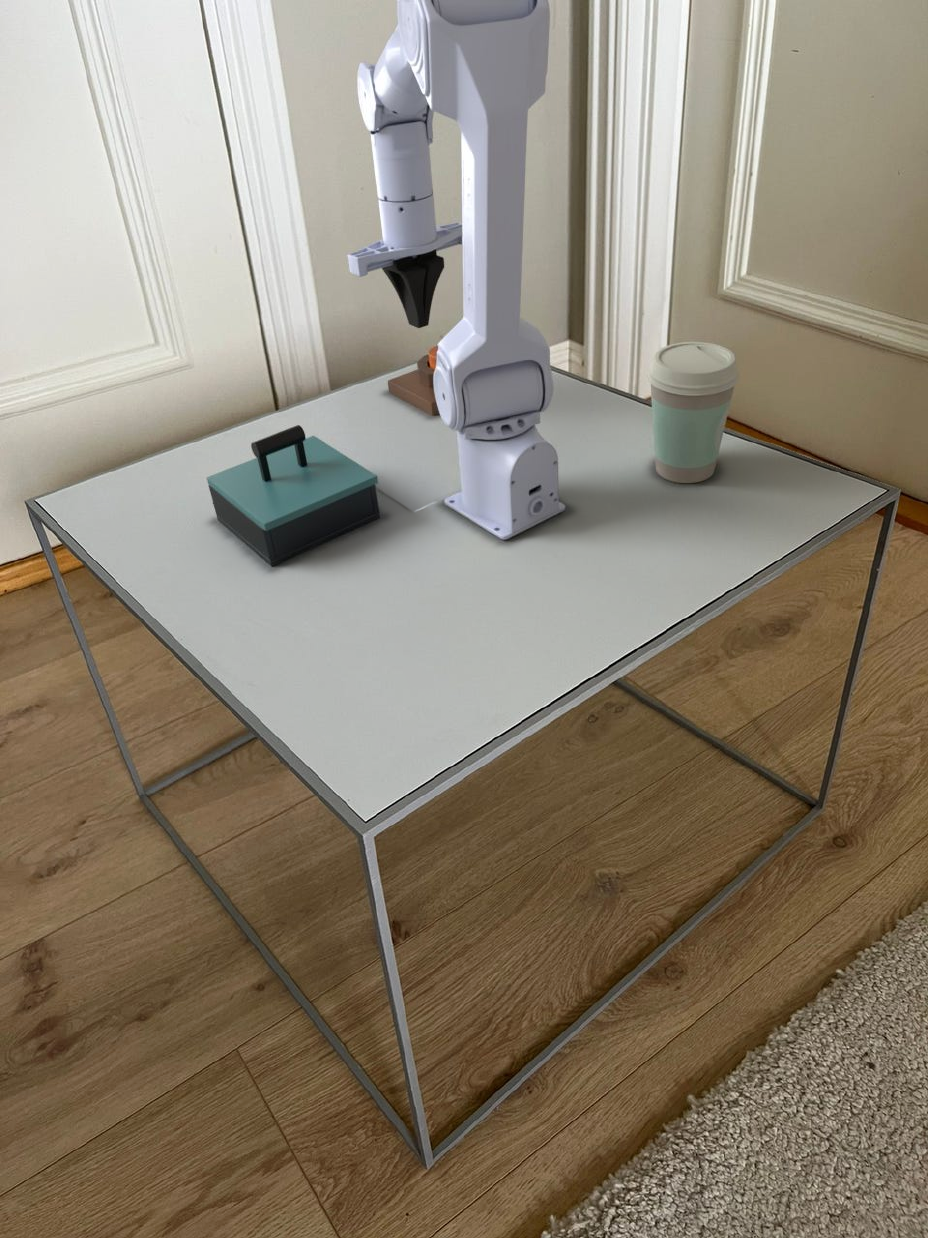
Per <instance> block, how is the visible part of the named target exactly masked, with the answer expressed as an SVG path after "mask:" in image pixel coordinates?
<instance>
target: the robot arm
mask: <svg viewBox="0 0 928 1238" xmlns="http://www.w3.org/2000/svg"><path fill="white" fill-rule="evenodd" d="M396 11H397V12H396V13H397V15H396V16H397V25H396V27H395V30H394V32H393V33H392V34H391V36H390V37H389V38H388V40H387V43H386V44H385V47H384V48H383V50H382V53H381V54H380V57H379V58H378V60H377V62H374V63H370V62H367V61H364V62H360V63H359V66H358V69H357V78H356V79H357V81H356V82H357V83H356V84H357V98H358V103H359V108H360V113H361V116H362V117H361V118H362V120H363V123H364V125H365V128H366V129H367V131H369V134H370V142H371V151H372V160H373V167H374V177H375V183H376V184H375V185H376V193H377V194H376V195H377V200H378V201H377V202H378V210H379V218H380V228H381V235H382V238H381V239H380V240H377V241H375V242H374V243H371V244H369V245H367V246H365V247H363V248H361V249H359V250H357V251H354V252H350V253H348V254H347V262H348V269H349V273H350V274H352V275H354V276H357V277H359V278H362V277H365V276H368V275H369V273H370V272H374V271H376V270H379V269H381V270H382V271H383V273H384V274H385V276H386V277H387V278H388V280H389V281H390V283H391V284H392V286H393V288H394V290H395V293H396V294H397V297H398V299H399V301H400V302H401V305H402V309H403V310H404V313H405V316H406V319H407V323H408V325H410V326H413V327H414V328H417V329H421V328H424V327H427V326H429V325H430V324H429V323H430V316H431V310H432V304H433V299H434V295H435V291H436V288H437V285H438V282H439V279H440V277H441V274H442V273H443V271H444V269H445V258H444V257H443V256H440V255H437V254H438V253H437V252H438V251H442V250H446V249H448V248H452V247H455V246H458V245H461V246H462V293H463V294H462V304H463V305H462V311H463V312H462V313H463V315H462V316H463V317H462V318H461V319H460V321H459V322H458V323H457V324H456V325H455V326H454V327H453V328H452V329H450V331H448V332H447V333H446V335H444V336H443V337H442V338H441V339H440V341H439V342H438V343H437V346H438V351H437V362H436V369H435V371H434V376H433V384H434V393H435V398H436V403H437V407H438V410H439V415H440V418H441V420H442V422H443V423H444V425H445V426H447V427H448V428H449V429H451V430H452V431H454V432H456V439H457V452H458V453H457V454H458V463H459V464H458V465H459V475H460V476H459V477H460V489H461V491H458V492H456V493H454V494H452V495H450V496H447V497H445V498H444V502H443V503H444V505H445V506H447V507H448V508H450V509H452V510H454V511H455V512H456V513H458V514H459V515H462V516H463V517H465V518H467V519H468V520H470V521H471V522H473V523H474V524H476V525H478V526H480V528H483V529H484V530H485V531H487V532H489V533H491V534H492V535H494V536H495V537H497V538H498V539H500V540H503V541H504V540H505V541H506V540H509V539H511V538H513V537H514V536H517V535H518V534H521V533H523V532H525V531H526V530H528V529H530V528H532V527H534V526H537V525H539V524H540V523H542V522H544V521H546V520H548V519H550V518H552V517H555V516H556V515H559V513H560V514H561V513H562V512H564V511H565V510H566V504H564V503H562V502H560V500H559V456H558V453H557V450H556V449H555V447H554V446H553V445H552V444H551V443H550V442H548V441H547V440H546V439H545V438H544V437H543V436H542V434H540V432H539V430H538V429H537V427H536V425H539V424H540V423H541V413H544V412H545V411H547V409H548V408H549V406H550V403H551V402H552V399H553V395H554V378H553V377H554V376H553V372H552V371H553V370H552V368H551V348H550V345H549V344H548V342H547V340H546V338H545V336H544V334H543V333H542V331H540V329H539V328H538V327H537V326H535V325H534V324H533V323H532V322H530V321H528V320H526V319H525V318H523V317H521V299H522V298H521V297H522V277H523V276H522V273H523V250H524V249H523V248H524V247H523V246H524V245H523V244H524V223H525V222H524V220H525V218H524V217H525V215H524V214H525V191H526V164H527V140H528V139H527V137H528V120H529V119H528V117H529V109H530V108H531V107H533V105H535V103H536V102H538V101H539V100H540V99H541V98H542V97H543V96H544V95H545V94H546V84H547V83H546V82H547V74H548V66H549V45H550V25H551V9H550V2H549V0H396ZM434 113H437V114H439V115H442V116H444V117H447V118H449V119H451V120H454V121H455V122H456V124H457V125H458V128H459V130H460V143H461V144H460V147H461V148H460V151H461V152H460V153H461V222H460V221H457V222H453V223H450V224H445V225H438V226H437V222H436V209H435V196H434V185H433V173H432V163H431V162H432V161H431V150H430V149H431V148H430V145H431V144H433V142H434V141H433V140H434V130H433V129H434V128H433V122H434V121H433V120H434Z"/></svg>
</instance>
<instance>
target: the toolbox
mask: <svg viewBox="0 0 928 1238" xmlns="http://www.w3.org/2000/svg"><path fill="white" fill-rule="evenodd" d="M250 447H251V451H252V454H253V455H254V456H255V458H252V459H249V460H248V461H245V462H242V463H240V464H237V465H235V466H231V467H229V468H226V469H224V470H221V471H220V472H217V473H214V474H212V475H208V476H207V477H206V481H207V484H208V486H209V485H210V486H211V487H212V488H214V489H215V490H216V491H217V492H218V493H220V494H221V495H222V496H223V497H225V498H226V499H227V500H228V501H229V502H231V503H232V504H233V505H234V506H236V507H237V508H238V509H239V510H241V511H242V512H243V513H244V514H245V515H247V516H248V517H249V518H250V519H252V520H253V521H254V522H255V523H256V524H258V525H259V526H260V527H261V528H263V529H264V530H265V531H268V530H270V529H273V528H275V527H277V526H280V525H282V524H284V523H287V522H289V521H291V520H294V519H296V518H298V517H300V516H303V515H305V514H307V513H310V512H312V511H314V510H317V509H319V508H321V507H324V506H326V505H328V504H330V503H333V502H335V501H337V500H340V499H342V498H344V497H347V496H349V495H351V494H354V493H356V492H358V491H360V490H363V489H365V488H367V487H370V486H372V485H374V484H375V485H377V484H379V480H378V475H377V474H375V473H373V472H372V471H370V470H369V469H367V468H366V467H364V466H362V465H361V464H359V463H358V462H356V461H354V460H353V459H351V458H350V457H348V456H347V455H346V454H343V453H342V452H340V451H339V450H337V449H336V448H334V447H332V446H331V445H329V443H326V442H325V441H323V440H322V439H320V438H318V437H317V436H316V435H312V436H309V437H306V432H305V431H304V428H303V427H302V426H301V425H300V424H296V425H294V426H292V427H288V428H286V429H283V430H280V431H277V432H276V433H272V434H271V435H268V436H264V437H263V438H260V439H257V440H255V441H253V442H251V443H250Z"/></svg>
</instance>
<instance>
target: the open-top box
mask: <svg viewBox="0 0 928 1238" xmlns="http://www.w3.org/2000/svg"><path fill="white" fill-rule="evenodd" d="M208 490H209V493H210V497H211V501H212V504H213V507H214V512H215V515H216V518H217V521H218V522H219V523H220V524H221V525H223V526H224V527H225V528H226V529H227V530H228V531H230V532H231V533H232V534H233V535H234V536H235V537H236V538H238V539H239V540H240V541H241V542H242V543H244V544H245V545H246V546H247V547H248V548H249V549H250V550H252V552H254V553H255V554H256V555H258V556H259V557H260V558H261V559H262V560H263V561H264V562H265V563H267V564H268V565H269V566H270V567H274V566H277V565H279V564H281V563H283V562H285V561H288V560H291V559H292V558H294V557H296V556H298V555H301V554H303V553H305V552H307V551H310V550H312V549H315V548H316V547H318V546H321V545H323V544H325V543H328V542H329V541H332V540H334V539H336V538H338V537H341V536H342V535H345V534H347V533H349V532H352V531H354V530H356V529H358V528H360V527H363V526H364V525H367V524H368V523H371V522H373V521H376V520H378V519H380V518H381V514H380V508H379V507H380V506H379V501H378V500H379V499H378V493H377V486H376V484H374V485H372V486H370V487H367V488H365V489H363V490H360V491H358V492H356V493H354V494H351V495H349V496H347V497H344V498H342V499H340V500H337V501H335V502H333V503H330V504H328V505H326V506H324V507H321V508H319V509H317V510H314V511H312V512H310V513H307V514H305V515H303V516H300V517H298V518H296V519H294V520H291V521H289V522H287V523H284V524H282V525H280V526H277V527H275V528H273V529H270V530H268V531H265V530H264V529H263V528H261V527H260V526H259V525H258V524H256V523H255V522H254V521H253V520H252V519H250V518H249V517H248V516H247V515H245V514H244V513H243V512H242V511H241V510H239V509H238V508H237V507H236V506H234V505H233V504H232V503H231V502H229V501H228V500H227V499H226V498H225V497H223V496H222V495H221V494H220V493H218V492H217V491H216V490H215V489H214V488H212V487H211V486H210V485H209V484H208Z"/></svg>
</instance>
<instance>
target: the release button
mask: <svg viewBox="0 0 928 1238" xmlns="http://www.w3.org/2000/svg"><path fill="white" fill-rule="evenodd" d="M437 351H438V345H436V346H433V347H432V348H430V349H429V350H428V354H429V363H430V368H432V369H434V370H435V369H436V362H437Z"/></svg>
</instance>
